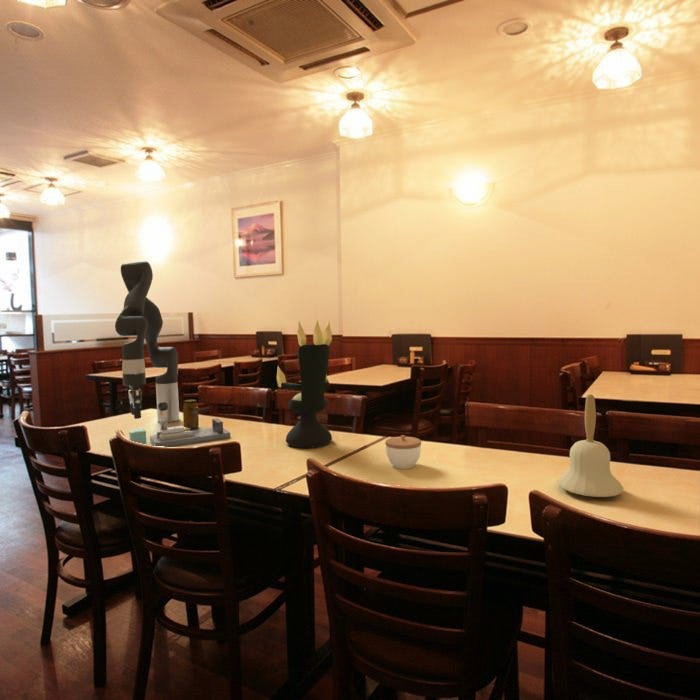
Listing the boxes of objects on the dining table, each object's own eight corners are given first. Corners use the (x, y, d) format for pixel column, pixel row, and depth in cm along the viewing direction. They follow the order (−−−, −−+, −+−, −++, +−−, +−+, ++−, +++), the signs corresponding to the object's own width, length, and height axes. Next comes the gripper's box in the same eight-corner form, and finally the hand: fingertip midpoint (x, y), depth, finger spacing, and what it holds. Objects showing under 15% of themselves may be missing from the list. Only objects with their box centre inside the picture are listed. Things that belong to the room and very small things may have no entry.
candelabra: (324, 434, 195) (321, 318, 191) (349, 447, 175) (346, 318, 171) (277, 440, 187) (273, 319, 183) (297, 455, 167) (293, 319, 163)
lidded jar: (385, 460, 158) (384, 431, 158) (419, 460, 158) (418, 430, 157) (386, 471, 148) (386, 440, 147) (423, 471, 147) (422, 439, 147)
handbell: (637, 501, 121) (639, 398, 119) (577, 505, 119) (578, 400, 117) (599, 480, 136) (600, 388, 134) (545, 483, 135) (546, 390, 133)
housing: (130, 446, 183) (129, 430, 183) (144, 444, 186) (143, 428, 185) (131, 449, 179) (130, 433, 179) (146, 447, 181) (145, 431, 181)
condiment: (196, 426, 215) (195, 398, 214) (204, 429, 208) (203, 400, 208) (179, 428, 210) (178, 400, 209) (187, 432, 204) (185, 403, 203)
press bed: (150, 441, 190) (149, 425, 190) (221, 431, 204) (220, 416, 203) (155, 448, 179) (155, 432, 179) (230, 437, 193) (229, 422, 192)
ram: (158, 436, 188) (156, 401, 187) (186, 432, 193) (184, 398, 192) (160, 438, 184) (158, 402, 183) (188, 434, 189) (187, 399, 188)
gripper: (120, 370, 185) (122, 414, 186) (124, 374, 172) (127, 421, 173) (142, 369, 188) (144, 412, 189) (148, 372, 176) (150, 418, 177)
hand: (136, 416), depth 181 cm, fingers open, 8 cm apart
